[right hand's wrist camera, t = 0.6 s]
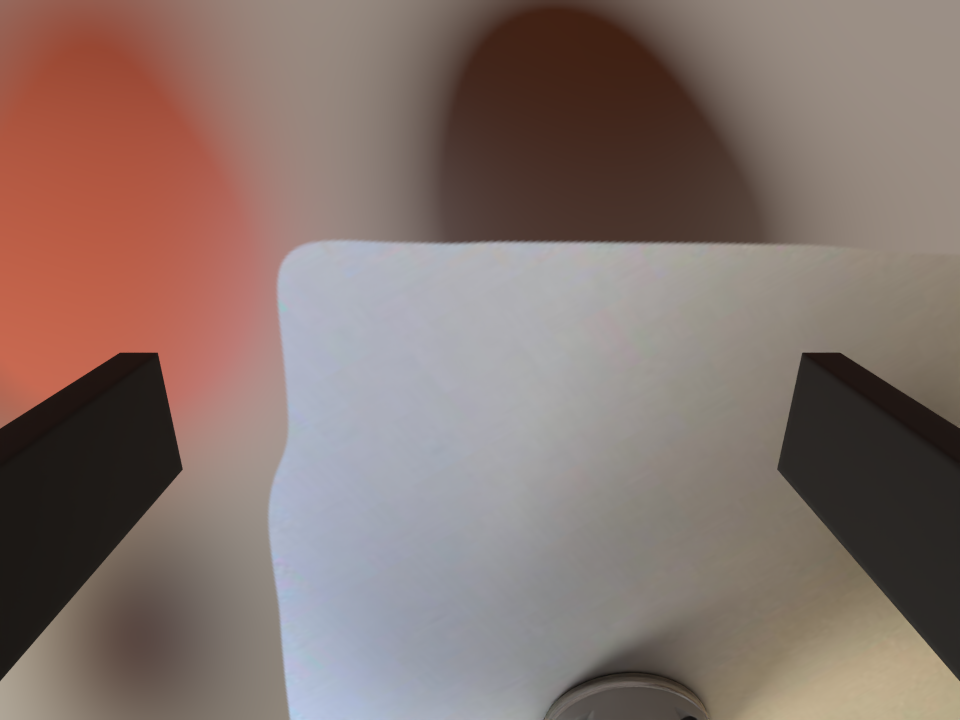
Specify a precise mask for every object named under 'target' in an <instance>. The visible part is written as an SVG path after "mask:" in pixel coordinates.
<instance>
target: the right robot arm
mask: <svg viewBox="0 0 960 720" xmlns="http://www.w3.org/2000/svg"><path fill="white" fill-rule="evenodd" d="M777 470H778V471H779V472H780V473H781V474H782V475H783V477H784V478H785V479H786V480H787V481H788V482H789V484H790V485H791V486H792V487H793V488H794V489H795V490H796V492H797V493H798V494H799V495H800V496H801V497H802V499H803V500H804V501H805V502H806V503H807V504H808V506H809V507H810V508H811V509H812V510H813V511H814V513H815V514H816V515H817V516H818V517H819V518H820V519H821V521H822V522H823V523H824V524H825V525H826V526H827V528H828V529H829V530H830V531H831V532H832V533H833V535H834V536H835V537H836V538H837V539H838V540H839V542H840V543H841V544H842V545H843V546H844V547H845V548H846V550H847V551H848V552H849V553H850V554H851V555H852V557H853V558H854V559H855V560H856V561H857V562H858V564H859V565H860V566H861V567H862V568H863V569H864V571H865V572H866V573H867V574H868V575H869V576H870V577H871V579H872V580H873V581H874V582H875V583H876V584H877V586H878V587H879V588H880V589H881V590H882V591H883V593H884V594H885V595H886V596H887V597H888V598H889V600H890V601H891V602H892V603H893V604H894V605H895V606H896V608H897V609H898V610H899V611H900V612H901V613H902V615H903V616H904V617H905V618H906V619H907V620H908V622H909V623H910V624H911V625H912V626H913V627H914V629H915V630H916V631H917V632H918V633H919V634H920V635H921V637H922V638H923V639H924V640H925V641H926V642H927V644H928V645H929V646H930V647H931V648H932V649H933V651H934V652H935V653H936V654H937V655H938V656H939V658H940V659H941V660H942V661H943V662H944V663H945V664H946V666H947V667H948V668H949V669H950V670H951V671H952V673H953V674H954V675H955V676H956V677H957V678H958V680H959V681H960V429H959V428H958V427H956V426H955V425H953V424H952V423H950V422H948V421H947V420H945V419H944V418H942V417H940V416H939V415H937V414H936V413H934V412H933V411H931V410H929V409H928V408H926V407H925V406H923V405H922V404H920V403H918V402H917V401H915V400H914V399H912V398H911V397H909V396H907V395H906V394H904V393H903V392H901V391H899V390H898V389H896V388H895V387H893V386H892V385H890V384H888V383H887V382H885V381H884V380H882V379H881V378H879V377H877V376H876V375H874V374H873V373H871V372H870V371H868V370H866V369H865V368H863V367H862V366H860V365H858V364H857V363H855V362H854V361H852V360H851V359H849V358H847V357H846V356H844V355H843V354H841V353H802V357H801V361H800V366H799V371H798V375H797V380H796V385H795V389H794V394H793V399H792V403H791V408H790V413H789V417H788V422H787V427H786V431H785V436H784V441H783V445H782V450H781V455H780V459H779V464H778V469H777ZM181 471H182V464H181V459H180V455H179V450H178V445H177V441H176V436H175V431H174V427H173V422H172V417H171V413H170V408H169V403H168V399H167V394H166V389H165V385H164V380H163V375H162V371H161V366H160V361H159V357H158V353H119V354H117V355H116V356H114V357H113V358H111V359H110V360H108V361H106V362H105V363H103V364H102V365H100V366H98V367H97V368H95V369H94V370H92V371H91V372H89V373H87V374H86V375H84V376H83V377H81V378H79V379H78V380H76V381H75V382H73V383H72V384H70V385H68V386H67V387H65V388H64V389H62V390H61V391H59V392H57V393H56V394H54V395H53V396H51V397H49V398H48V399H46V400H45V401H43V402H42V403H40V404H39V405H37V406H35V407H34V408H32V409H31V410H29V411H27V412H26V413H24V414H23V415H21V416H20V417H18V418H16V419H15V420H13V421H12V422H10V423H8V424H7V425H5V426H4V427H2V428H1V429H0V681H1V680H2V678H3V677H4V676H5V675H6V674H7V673H8V671H9V670H10V669H11V668H12V667H13V666H14V664H15V663H16V662H17V661H18V660H19V659H20V657H21V656H22V655H23V654H24V653H25V652H26V651H27V649H28V648H29V647H30V646H31V645H32V644H33V642H34V641H35V640H36V639H37V638H38V637H39V635H40V634H41V633H42V632H43V631H44V630H45V629H46V627H47V626H48V625H49V624H50V623H51V621H52V620H53V619H54V618H55V617H56V616H57V615H58V613H59V612H60V611H61V610H62V609H63V608H64V606H65V605H66V604H67V603H68V602H69V601H70V600H71V598H72V597H73V596H74V595H75V594H76V593H77V591H78V590H79V589H80V588H81V587H82V586H83V584H84V583H85V582H86V581H87V580H88V579H89V577H90V576H91V575H92V574H93V573H94V572H95V571H96V569H97V568H98V567H99V566H100V565H101V564H102V562H103V561H104V560H105V559H106V558H107V557H108V555H109V554H110V553H111V552H112V551H113V550H114V548H115V547H116V546H117V545H118V544H119V543H120V541H121V540H122V539H123V538H124V537H125V536H126V534H127V533H128V532H129V531H130V530H131V529H132V528H133V526H134V525H135V524H136V523H137V522H138V521H139V519H140V518H141V517H142V516H143V515H144V514H145V513H146V511H147V510H148V509H149V508H150V507H151V506H152V504H153V503H154V502H155V501H156V500H157V499H158V497H159V496H160V495H161V494H162V493H163V492H164V490H165V489H166V488H167V487H168V486H169V485H170V484H171V482H172V481H173V480H174V479H175V478H176V477H177V475H178V474H179V473H180V472H181ZM544 720H709V718H708V715H707V713H706V710H705V708H704V706H703V704H702V703H701V701H700V700H699V699H698V698H697V697H696V696H695V694H694V693H692V692H691V691H690V690H689V689H687V688H686V687H684V686H683V685H681V684H679V683H677V682H675V681H672V680H670V679H667V678H664V677H660V676H656V675H651V674H643V673H622V674H614V675H608V676H603V677H599V678H596V679H593V680H590V681H588V682H585V683H583V684H581V685H579V686H577V687H575V688H573V689H571V690H570V691H569V692H567V693H566V694H564V695H563V696H562V697H561V698H559V699H558V700H557V701H556V702H555V703H554V705H553V706H552V707H551V708H550V710H549V711H548V713H547V714H546V716H545V718H544Z"/></svg>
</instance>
